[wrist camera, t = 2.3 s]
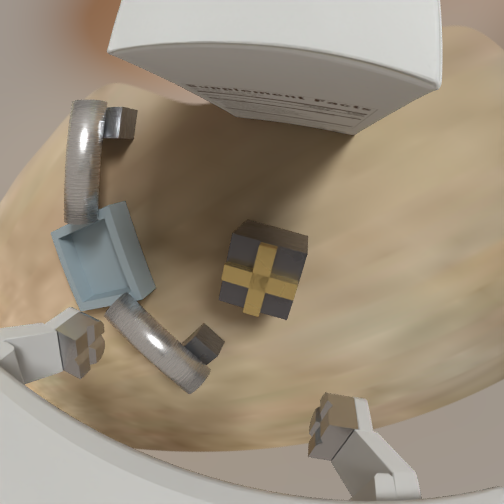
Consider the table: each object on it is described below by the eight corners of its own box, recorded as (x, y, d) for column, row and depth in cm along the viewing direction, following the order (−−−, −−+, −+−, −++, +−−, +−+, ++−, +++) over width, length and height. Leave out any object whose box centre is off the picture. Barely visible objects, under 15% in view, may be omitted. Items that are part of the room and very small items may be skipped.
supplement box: (249, 11, 17) (172, -123, 3) (369, 28, 16) (424, -109, 2) (229, 118, 20) (93, 56, 6) (356, 139, 19) (451, 93, 5)
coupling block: (308, 235, 22) (307, 257, 17) (291, 291, 23) (285, 325, 18) (247, 219, 22) (229, 236, 17) (235, 275, 24) (215, 304, 19)
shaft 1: (127, 215, 24) (90, 228, 19) (89, 208, 24) (50, 220, 20) (138, 106, 21) (100, 97, 16) (97, 108, 22) (58, 103, 17)
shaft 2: (126, 301, 26) (95, 326, 22) (150, 271, 25) (118, 294, 20) (197, 367, 27) (178, 402, 22) (227, 344, 25) (210, 379, 21)
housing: (125, 200, 23) (108, 205, 21) (155, 287, 25) (142, 299, 23) (67, 227, 25) (50, 232, 23) (95, 301, 27) (80, 311, 25)
